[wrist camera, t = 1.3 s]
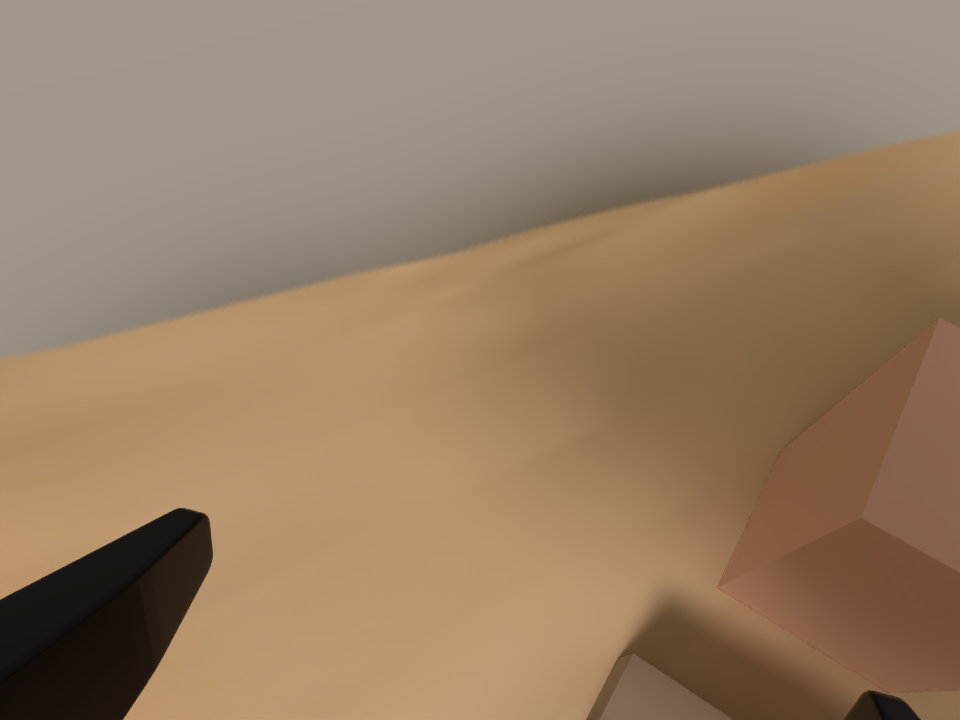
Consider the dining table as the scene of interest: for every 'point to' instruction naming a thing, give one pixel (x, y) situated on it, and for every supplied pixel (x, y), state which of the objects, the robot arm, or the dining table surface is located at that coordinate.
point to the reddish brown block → (869, 525)
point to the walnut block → (648, 696)
